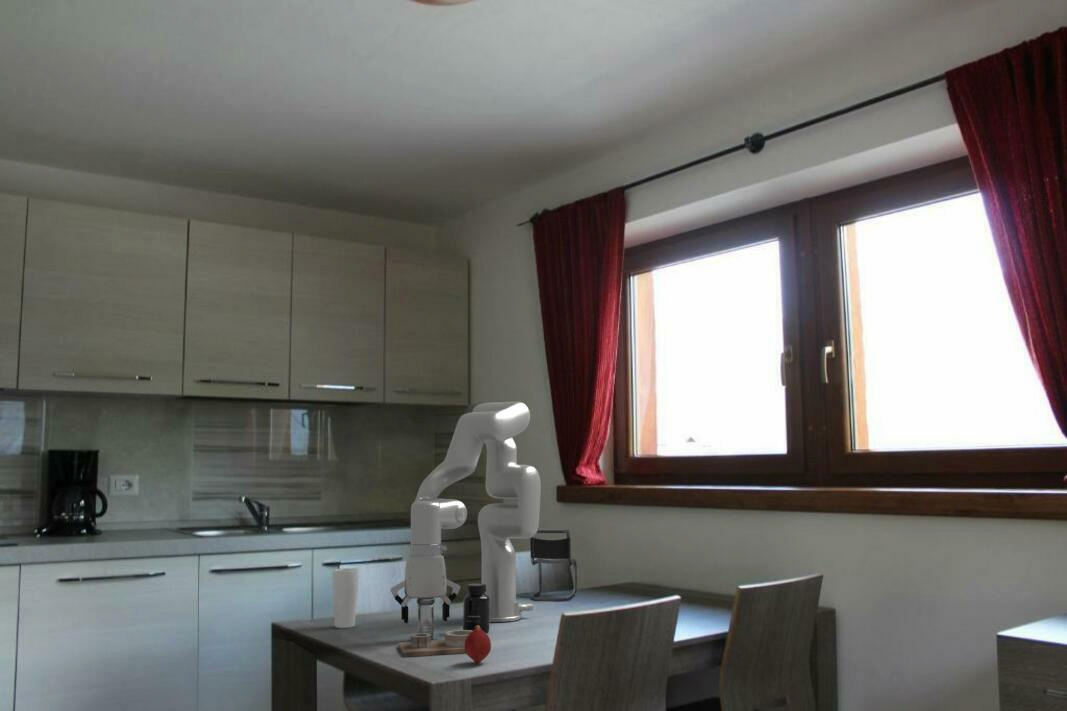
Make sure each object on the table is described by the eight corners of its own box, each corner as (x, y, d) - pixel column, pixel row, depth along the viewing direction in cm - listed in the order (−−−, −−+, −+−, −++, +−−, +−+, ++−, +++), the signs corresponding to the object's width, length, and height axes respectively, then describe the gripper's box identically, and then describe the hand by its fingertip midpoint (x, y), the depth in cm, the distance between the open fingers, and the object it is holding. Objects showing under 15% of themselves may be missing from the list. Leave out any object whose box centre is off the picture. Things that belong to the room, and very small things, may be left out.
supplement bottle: (469, 635, 234) (469, 586, 235) (458, 631, 240) (458, 583, 241) (494, 633, 237) (494, 585, 238) (483, 629, 243) (483, 582, 244)
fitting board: (476, 642, 225) (476, 627, 226) (487, 651, 214) (487, 636, 214) (398, 646, 220) (398, 631, 221) (404, 657, 209) (404, 641, 209)
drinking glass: (351, 629, 243) (352, 571, 245) (327, 629, 245) (328, 570, 246) (361, 625, 250) (362, 568, 252) (338, 624, 251) (338, 568, 253)
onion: (464, 660, 205) (464, 623, 206) (490, 659, 205) (490, 622, 206) (464, 666, 199) (464, 627, 200) (491, 665, 199) (491, 627, 200)
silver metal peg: (432, 637, 232) (433, 596, 233) (435, 640, 227) (435, 599, 229) (415, 638, 231) (415, 597, 232) (417, 641, 226) (418, 599, 227)
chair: (528, 601, 291) (527, 529, 293) (538, 593, 308) (538, 525, 310) (569, 601, 289) (568, 529, 291) (577, 594, 305) (576, 526, 308)
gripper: (457, 548, 237) (457, 617, 235) (389, 550, 233) (388, 621, 231) (462, 551, 230) (462, 622, 228) (392, 553, 226) (391, 626, 224)
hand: (425, 621), depth 229 cm, fingers open, 9 cm apart
